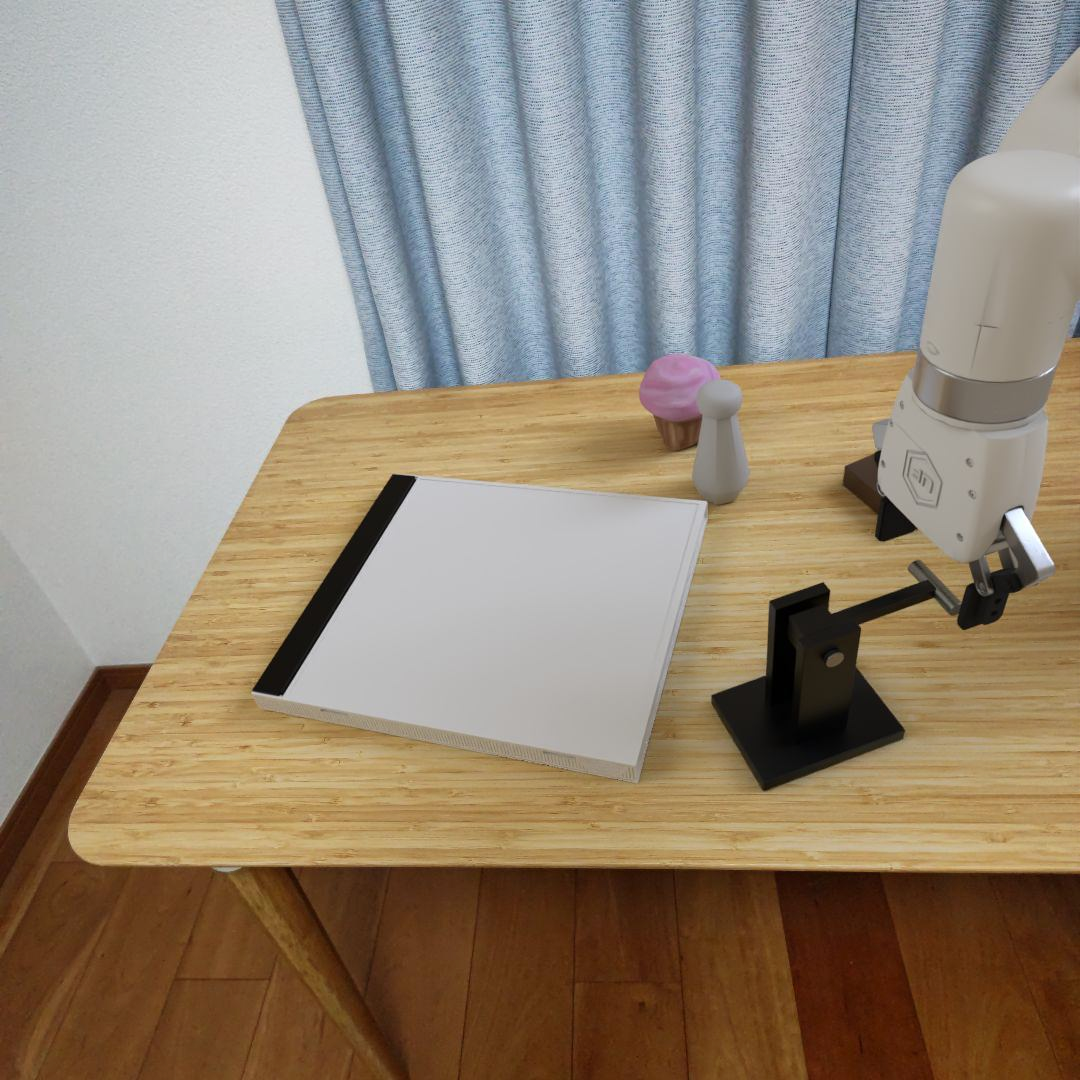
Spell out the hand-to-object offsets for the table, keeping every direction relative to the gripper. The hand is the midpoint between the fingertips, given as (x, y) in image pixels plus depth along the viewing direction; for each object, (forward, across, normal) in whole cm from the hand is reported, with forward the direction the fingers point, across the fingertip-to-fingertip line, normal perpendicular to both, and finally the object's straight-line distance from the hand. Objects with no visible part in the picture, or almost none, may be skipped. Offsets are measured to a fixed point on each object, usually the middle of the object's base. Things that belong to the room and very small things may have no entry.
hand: (934, 575), depth 65 cm
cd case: (+13, -23, -29) cm, 39 cm away
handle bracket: (+12, 0, -10) cm, 16 cm away
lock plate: (+12, -20, +15) cm, 28 cm away
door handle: (+3, 0, -5) cm, 6 cm away
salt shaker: (+13, -28, -3) cm, 31 cm away
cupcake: (+13, -39, -2) cm, 41 cm away
